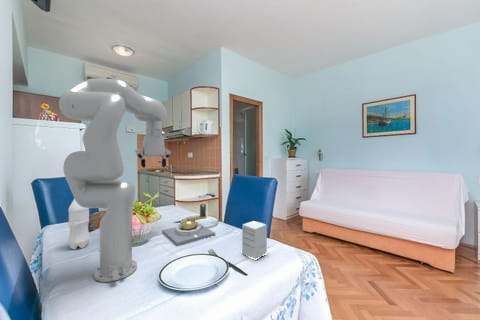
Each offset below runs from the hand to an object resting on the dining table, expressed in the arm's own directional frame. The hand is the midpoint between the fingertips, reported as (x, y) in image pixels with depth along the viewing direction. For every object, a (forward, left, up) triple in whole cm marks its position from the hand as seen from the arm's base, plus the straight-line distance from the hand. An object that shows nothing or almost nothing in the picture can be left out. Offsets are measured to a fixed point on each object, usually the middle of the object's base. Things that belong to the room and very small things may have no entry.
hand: (153, 167), depth 105 cm
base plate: (-11, -14, -34) cm, 39 cm away
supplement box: (-48, -26, -34) cm, 65 cm away
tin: (+29, +22, -35) cm, 50 cm away
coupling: (-11, -16, -32) cm, 38 cm away
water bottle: (+4, +30, -34) cm, 46 cm away
